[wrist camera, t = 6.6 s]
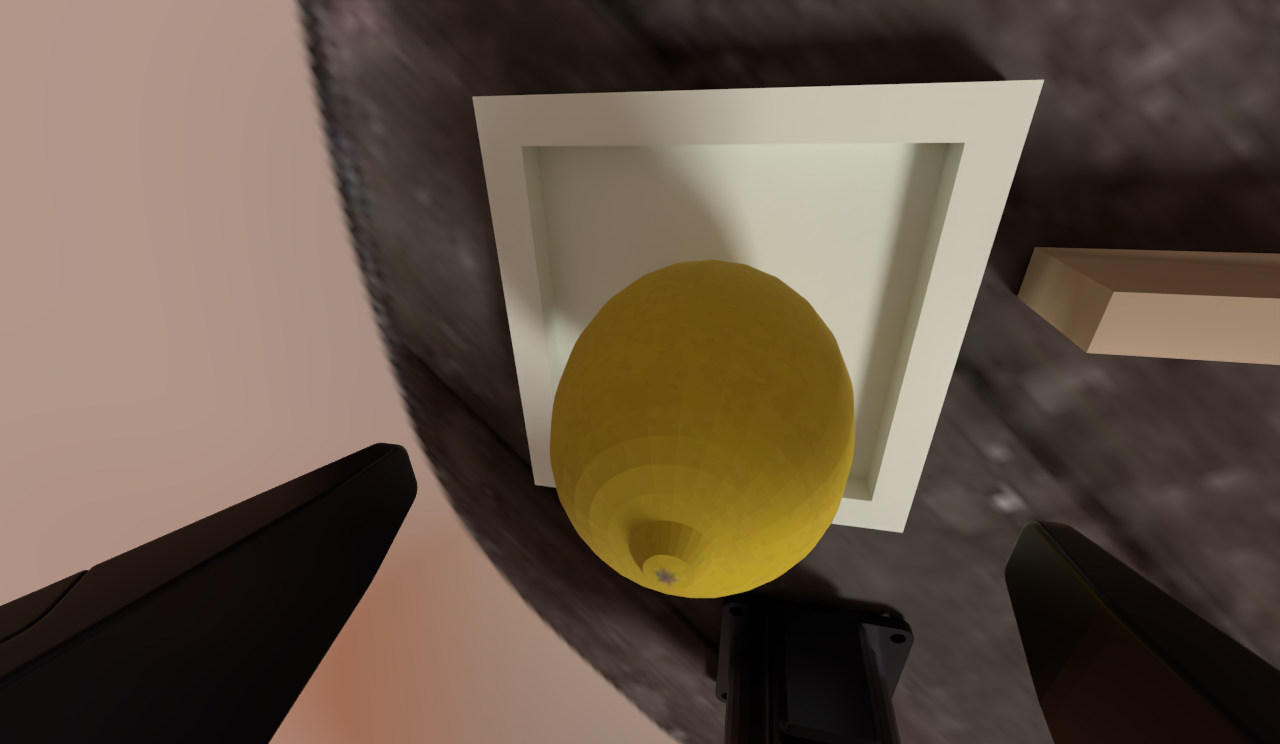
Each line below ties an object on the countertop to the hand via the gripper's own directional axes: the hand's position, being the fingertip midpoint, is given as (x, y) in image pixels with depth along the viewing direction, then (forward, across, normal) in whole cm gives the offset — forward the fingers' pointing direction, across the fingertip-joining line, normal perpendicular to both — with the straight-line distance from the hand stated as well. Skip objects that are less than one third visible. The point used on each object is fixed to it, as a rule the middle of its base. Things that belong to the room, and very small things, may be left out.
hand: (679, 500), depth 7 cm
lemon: (+7, 0, 0) cm, 7 cm away
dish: (+7, 0, 0) cm, 7 cm away
